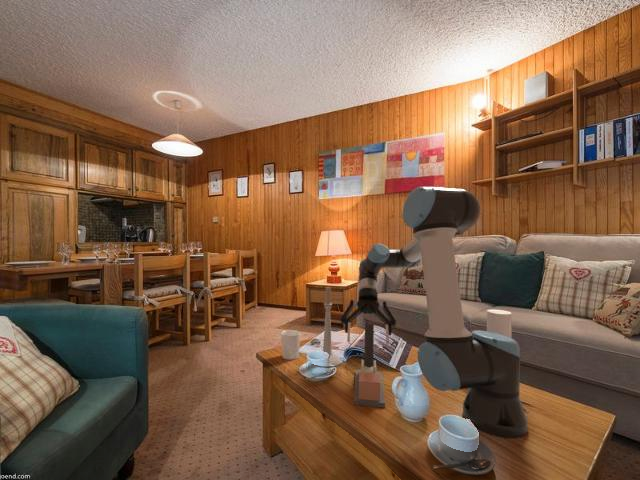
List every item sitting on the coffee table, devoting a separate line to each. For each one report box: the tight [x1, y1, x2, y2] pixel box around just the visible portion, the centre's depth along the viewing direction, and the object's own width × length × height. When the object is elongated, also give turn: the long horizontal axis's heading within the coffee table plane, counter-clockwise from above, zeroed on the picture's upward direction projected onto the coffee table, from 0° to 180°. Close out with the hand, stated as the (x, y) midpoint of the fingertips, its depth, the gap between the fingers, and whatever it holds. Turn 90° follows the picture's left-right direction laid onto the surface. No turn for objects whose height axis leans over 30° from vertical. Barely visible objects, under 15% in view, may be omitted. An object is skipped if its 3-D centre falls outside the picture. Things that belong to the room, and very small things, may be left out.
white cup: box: [280, 329, 301, 360], centre depth 125 cm, size 8×8×10 cm
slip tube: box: [364, 323, 375, 373], centre depth 102 cm, size 12×3×17 cm, turn 172°
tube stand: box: [353, 359, 386, 408], centre depth 99 cm, size 22×9×6 cm, turn 172°
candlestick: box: [322, 286, 344, 367], centre depth 121 cm, size 13×13×30 cm
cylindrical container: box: [486, 308, 513, 338], centre depth 101 cm, size 7×7×25 cm
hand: (367, 341), depth 106 cm, fingers open, 13 cm apart
